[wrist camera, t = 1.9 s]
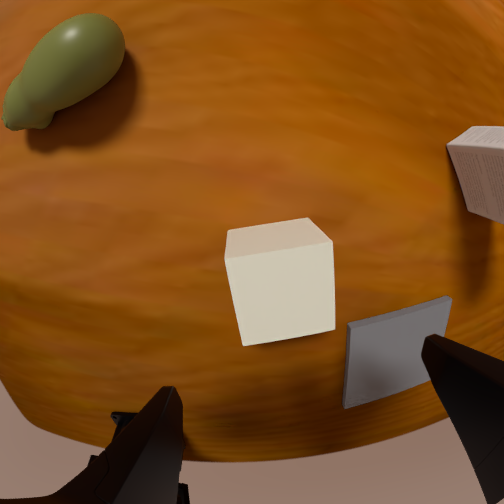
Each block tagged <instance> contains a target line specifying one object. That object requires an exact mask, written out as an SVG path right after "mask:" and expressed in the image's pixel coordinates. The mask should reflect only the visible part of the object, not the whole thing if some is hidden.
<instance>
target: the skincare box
mask: <svg viewBox="0 0 504 504" xmlns="http://www.w3.org/2000/svg"><path fill="white" fill-rule="evenodd" d="M446 147H447V149H448V151H449V154H450V156H451V159H452V162H453V164H454V167H455V170H456V173H457V176H458V179H459V182H460V185H461V188H462V192H463V195H464V198H465V202H466V205H467V209H468V211H469V212H472V213H475V214H478V215H480V216H483V217H486V218H489V219H491V220H494V221H496V222H499V223H501V224H504V127H501V126H500V127H499V126H473V127H471V128H469V129H468V130H467V131H465V132H464V133H463V134H461V135H460V136H458V137H457V138H455V139H454V140H452V141H451V142H449V143H448V144H447V145H446Z"/></svg>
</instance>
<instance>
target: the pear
mask: <svg viewBox="0 0 504 504" xmlns="http://www.w3.org/2000/svg"><path fill="white" fill-rule="evenodd" d="M124 53H125V41H124V37H123V34H122V32H121V30H120V28H119V27H118V25H117V24H116V23H115V22H114V21H113V20H111V19H110V18H108V17H106V16H104V15H101V14H95V13H87V14H81V15H77V16H74V17H72V18H70V19H67V20H66V21H64V22H62V23H60V24H59V25H57V26H56V27H55V28H53V29H52V30H51V31H49V32H48V33H47V34H46V35H45V36H44V37H43V38H42V39H41V40H40V41H39V42H38V43H37V45H36V46H35V47H34V49H33V50H32V52H31V53H30V55H29V57H28V58H27V60H26V62H25V65H24V67H23V69H22V72H21V73H20V74H19V75H18V76H17V77H16V78H15V79H14V80H13V82H12V83H11V84H10V86H9V88H8V90H7V92H6V95H5V98H4V104H3V116H2V120H3V121H4V124H5V127H6V128H9V129H10V130H12V131H18V130H21V129H29V128H36V129H44V128H46V127H47V126H48V125H49V124H50V123H51V121H52V119H53V116H54V112H55V111H57V110H61V109H64V108H67V107H69V106H71V105H74V104H76V103H77V102H79V101H81V100H83V99H84V98H86V97H88V96H89V95H91V94H92V93H94V92H95V91H97V90H98V89H100V88H101V87H103V86H104V85H105V84H106V83H107V82H108V81H110V80H111V79H112V77H113V76H114V75H115V74H116V72H117V71H118V69H119V68H120V66H121V64H122V61H123V58H124Z"/></svg>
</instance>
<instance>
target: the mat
mask: <svg viewBox="0 0 504 504" xmlns="http://www.w3.org/2000/svg"><path fill="white" fill-rule="evenodd" d="M451 303H452V299H451V298H450V297H449V296H444V297H441V298H437V299H434V300H431V301H428V302H425V303H421V304H418V305H415V306H411V307H408V308H404V309H401V310H397V311H394V312H390V313H386V314H383V315H379V316H375V317H371V318H367V319H363V320H359V321H354V322H350V323H347V345H346V363H345V377H344V389H343V399H342V405H343V407H344V409H347V408H350V407H354V406H358V405H361V404H364V403H368V402H371V401H374V400H377V399H380V398H384V397H386V396H389V395H392V394H395V393H398V392H401V391H403V390H406V389H409V388H411V387H414V386H416V385H419V384H421V383H424V382H426V381H429V380H431V379H430V377H429V375H428V372H427V370H426V368H425V365H424V363H423V361H422V358H421V351H422V347H423V343H424V339H425V337H427V336H429V335H432V334H437V335H440V336H442V337H444V333H445V330H446V326H447V321H448V317H449V313H450V308H451Z"/></svg>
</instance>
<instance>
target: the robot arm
mask: <svg viewBox="0 0 504 504" xmlns="http://www.w3.org/2000/svg"><path fill="white" fill-rule="evenodd" d="M421 358H422V361H423V363H424V365H425V368H426V370H427V372H428V375H429V377H430V379H431V382H432V384H433V386H434V389H435V391H436V393H437V395H438V396H439V398H440V400H441V402H442V404H443V406H444V408H445V410H446V411H447V413H448V415H449V417H450V419H451V421H452V423H453V425H454V427H455V429H456V431H457V433H458V435H459V437H460V439H461V442H462V444H463V446H464V448H465V450H466V452H467V455H468V457H469V459H470V461H471V464H472V466H473V468H474V471H475V473H476V476H477V478H478V481H479V483H480V486H481V488H482V491H483V493H484V496H485V498H486V501H487V504H496V503H498V502H499V501H500V500H502V499H503V498H504V361H502V360H499V359H497V358H494V357H492V356H489V355H487V354H484V353H482V352H479V351H477V350H474V349H472V348H470V347H467V346H465V345H462V344H460V343H457V342H455V341H452V340H450V339H447V338H445V337H442V336H440V335H437V334H432V335H429V336H427V337H425V339H424V343H423V347H422V351H421ZM111 418H112V419H113V421H114V422H115V423H116V425H117V427H116V430H115V433H114V436H113V439H112V442H111V443H110V444H109V445H108V446H107V447H106V448H105V450H104V451H103V452H102V453H101V454H100V455H99V456H95V455H91V457H90V460H89V463H88V466H87V467H86V468H85V469H84V470H83V471H82V472H81V473H80V474H78V475H77V476H76V477H75V478H74V479H72V480H71V481H70V482H68V483H67V484H66V485H65V486H63V487H62V488H61V489H60V490H58V491H57V492H55V493H53V494H51V495H48V496H43V497H34V498H20V499H0V504H190V501H189V493H188V485H187V484H184V483H178V482H179V472H180V471H181V465H182V457H183V449H185V446H186V445H185V443H184V441H183V404H182V401H181V399H180V396H179V394H178V392H177V390H176V388H175V387H174V386H163V387H162V388H161V389H160V390H159V391H158V392H157V393H156V394H155V395H154V396H153V397H152V399H151V400H150V401H149V402H148V403H147V404H146V405H145V406H144V407H143V408H142V410H141V411H140V412H139V413H122V412H112V413H111Z"/></svg>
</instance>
